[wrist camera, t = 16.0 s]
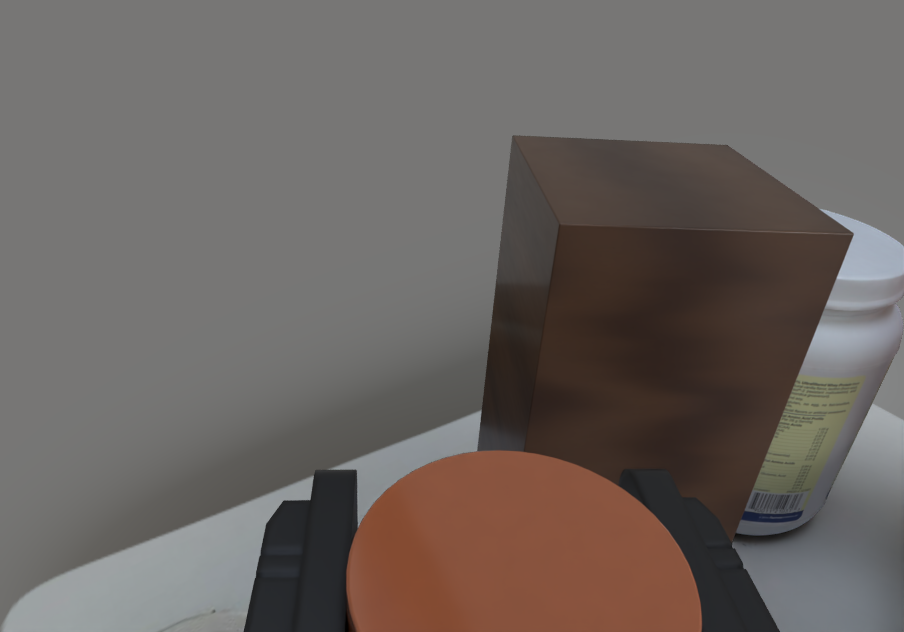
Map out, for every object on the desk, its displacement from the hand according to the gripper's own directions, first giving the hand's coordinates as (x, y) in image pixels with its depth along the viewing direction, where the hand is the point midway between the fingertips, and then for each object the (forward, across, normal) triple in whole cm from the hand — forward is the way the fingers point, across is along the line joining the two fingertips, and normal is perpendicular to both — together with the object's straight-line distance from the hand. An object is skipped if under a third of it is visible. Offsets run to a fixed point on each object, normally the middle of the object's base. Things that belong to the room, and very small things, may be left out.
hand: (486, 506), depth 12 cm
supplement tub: (+23, -20, +21) cm, 37 cm away
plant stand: (+14, -7, +21) cm, 26 cm away
